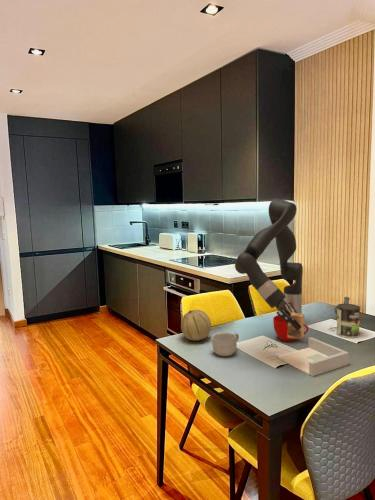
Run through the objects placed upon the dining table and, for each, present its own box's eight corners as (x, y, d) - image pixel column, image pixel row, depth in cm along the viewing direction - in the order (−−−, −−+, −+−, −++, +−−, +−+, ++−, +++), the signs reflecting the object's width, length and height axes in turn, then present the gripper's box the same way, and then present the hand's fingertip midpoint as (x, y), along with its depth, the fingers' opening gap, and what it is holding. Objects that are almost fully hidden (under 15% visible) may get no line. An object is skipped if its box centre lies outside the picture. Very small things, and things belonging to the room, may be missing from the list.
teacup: (220, 360, 151) (220, 342, 150) (207, 351, 161) (206, 334, 160) (247, 353, 158) (247, 336, 157) (233, 345, 167) (233, 328, 166)
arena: (276, 357, 153) (276, 346, 152) (311, 348, 162) (311, 337, 161) (312, 376, 135) (312, 363, 135) (348, 364, 144) (348, 352, 144)
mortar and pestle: (350, 324, 191) (351, 301, 190) (332, 320, 197) (332, 299, 195) (356, 318, 200) (356, 297, 198) (338, 315, 206) (338, 294, 204)
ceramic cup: (301, 348, 161) (302, 326, 160) (268, 339, 173) (268, 319, 172) (314, 339, 171) (314, 319, 170) (281, 332, 182) (281, 312, 181)
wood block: (287, 337, 142) (287, 315, 141) (290, 334, 146) (290, 312, 145) (300, 339, 140) (301, 316, 139) (303, 336, 144) (304, 313, 143)
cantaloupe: (217, 340, 174) (217, 309, 172) (193, 347, 166) (192, 316, 164) (199, 331, 186) (198, 303, 184) (175, 338, 178) (174, 308, 176)
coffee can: (364, 336, 174) (365, 307, 172) (348, 339, 170) (349, 310, 168) (347, 329, 183) (347, 302, 182) (331, 332, 179) (332, 305, 177)
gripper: (272, 291, 139) (304, 326, 134) (282, 284, 151) (311, 317, 146) (258, 303, 142) (289, 338, 137) (269, 296, 154) (298, 328, 149)
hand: (300, 327), depth 142 cm, fingers closed on wood block, 4 cm apart
